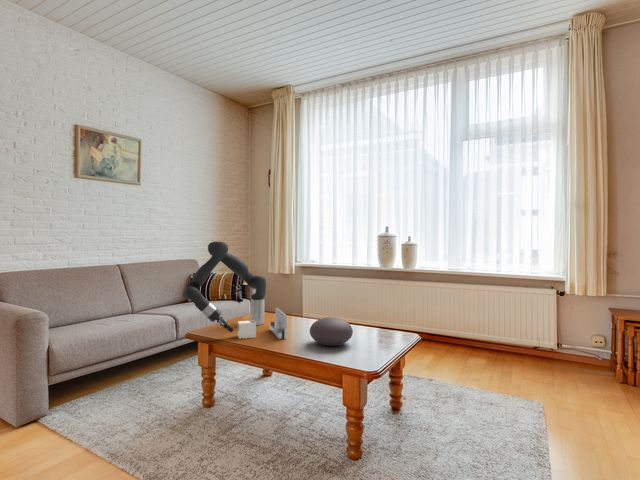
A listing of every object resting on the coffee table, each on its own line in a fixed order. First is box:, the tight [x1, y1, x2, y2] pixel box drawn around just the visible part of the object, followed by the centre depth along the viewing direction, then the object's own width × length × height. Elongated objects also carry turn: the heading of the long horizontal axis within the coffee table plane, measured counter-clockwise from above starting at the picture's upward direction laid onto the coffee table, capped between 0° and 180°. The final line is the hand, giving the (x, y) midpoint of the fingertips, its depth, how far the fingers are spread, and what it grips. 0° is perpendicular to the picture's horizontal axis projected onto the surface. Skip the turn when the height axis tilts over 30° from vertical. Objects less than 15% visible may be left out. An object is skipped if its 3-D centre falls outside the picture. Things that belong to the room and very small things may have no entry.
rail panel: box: [269, 307, 288, 340], centre depth 225 cm, size 24×5×14 cm, turn 20°
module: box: [236, 319, 257, 340], centre depth 218 cm, size 6×10×10 cm, turn 110°
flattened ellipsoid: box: [309, 316, 354, 347], centre depth 205 cm, size 25×25×15 cm
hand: (232, 331), depth 215 cm, fingers closed
